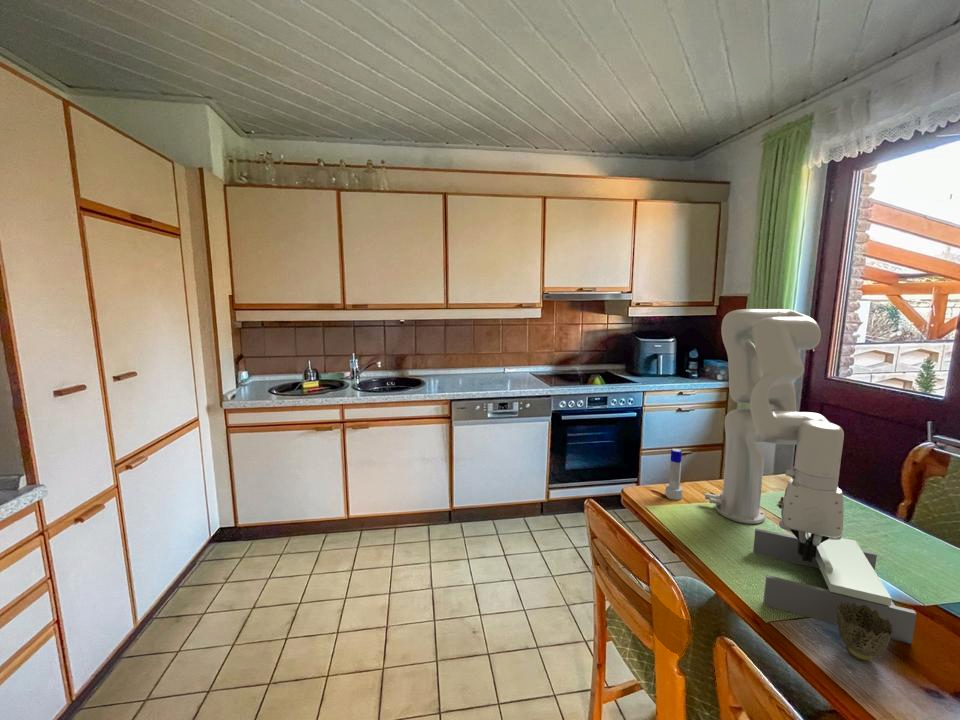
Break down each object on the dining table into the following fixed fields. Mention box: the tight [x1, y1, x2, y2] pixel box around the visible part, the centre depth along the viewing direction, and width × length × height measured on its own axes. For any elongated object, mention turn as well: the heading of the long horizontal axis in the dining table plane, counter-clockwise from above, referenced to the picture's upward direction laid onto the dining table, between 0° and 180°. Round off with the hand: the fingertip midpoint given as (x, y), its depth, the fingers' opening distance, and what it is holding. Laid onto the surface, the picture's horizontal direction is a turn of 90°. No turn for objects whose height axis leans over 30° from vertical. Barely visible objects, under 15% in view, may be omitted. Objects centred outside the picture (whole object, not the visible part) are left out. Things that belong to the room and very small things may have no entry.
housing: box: [752, 527, 917, 645], centre depth 93 cm, size 23×21×6 cm
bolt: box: [664, 448, 684, 501], centre depth 136 cm, size 16×5×5 cm
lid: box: [806, 532, 893, 606], centre depth 91 cm, size 9×21×3 cm, turn 153°
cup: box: [837, 602, 894, 663], centre depth 76 cm, size 8×7×8 cm
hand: (805, 558), depth 94 cm, fingers closed
